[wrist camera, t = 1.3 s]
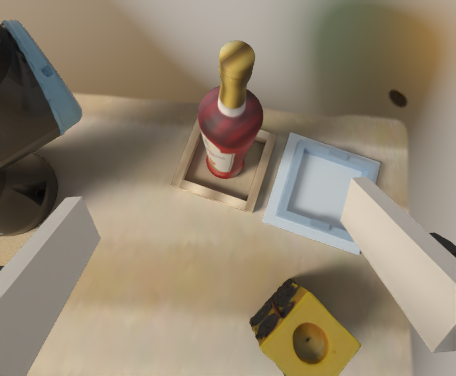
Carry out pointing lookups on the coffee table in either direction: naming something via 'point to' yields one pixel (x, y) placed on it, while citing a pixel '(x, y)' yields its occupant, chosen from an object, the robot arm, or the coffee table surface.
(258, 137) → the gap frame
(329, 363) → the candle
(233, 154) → the liquor
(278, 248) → the coffee table surface
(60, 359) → the coffee table surface
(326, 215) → the tray
